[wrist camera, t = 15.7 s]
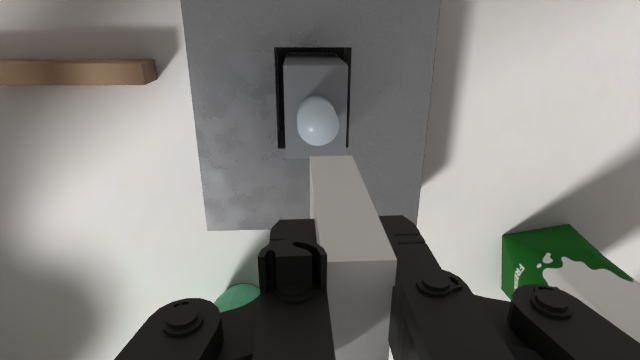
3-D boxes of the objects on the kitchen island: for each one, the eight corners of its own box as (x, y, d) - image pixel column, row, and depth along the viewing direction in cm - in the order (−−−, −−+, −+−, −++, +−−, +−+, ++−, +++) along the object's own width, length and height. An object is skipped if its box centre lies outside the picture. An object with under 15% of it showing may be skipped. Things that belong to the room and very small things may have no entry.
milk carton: (493, 229, 41) (654, 400, 23) (579, 214, 41) (812, 374, 23) (492, 296, 45) (633, 494, 26) (572, 283, 44) (770, 472, 26)
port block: (218, 205, 38) (206, 233, 33) (191, -58, 30) (170, -73, 25) (402, 201, 39) (417, 227, 34) (425, -54, 31) (450, -68, 26)
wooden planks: (-16, 80, 33) (-45, 85, 30) (-60, -63, 29) (-97, -72, 26) (157, 79, 34) (144, 84, 31) (136, -60, 30) (120, -68, 27)
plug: (288, 122, 36) (284, 175, 24) (286, 52, 34) (281, 71, 22) (332, 122, 36) (351, 174, 24) (333, 52, 34) (355, 71, 22)
